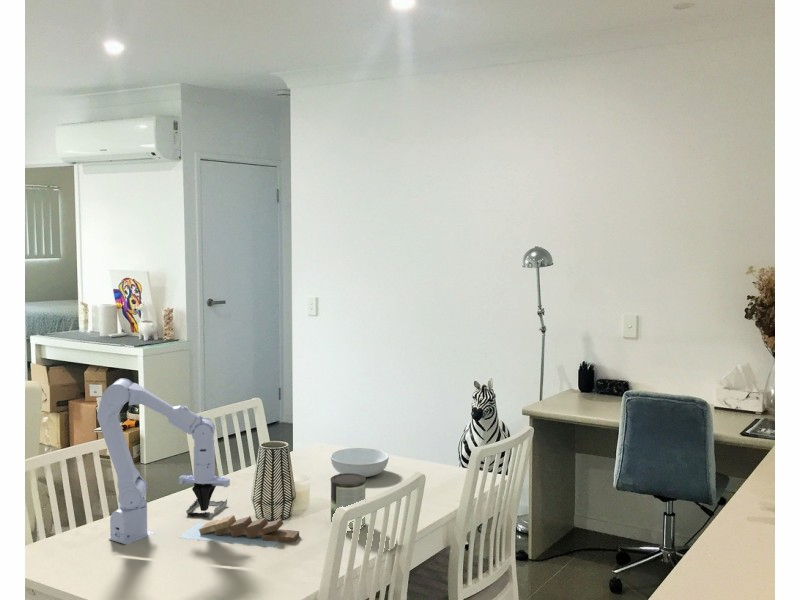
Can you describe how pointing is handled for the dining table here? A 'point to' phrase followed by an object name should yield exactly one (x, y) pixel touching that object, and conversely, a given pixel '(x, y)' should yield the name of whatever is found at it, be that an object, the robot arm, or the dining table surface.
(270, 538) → the domino
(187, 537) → the board
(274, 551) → the dining table surface
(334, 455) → the serving bowl
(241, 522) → the domino
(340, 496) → the coffee can
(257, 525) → the domino
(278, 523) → the domino
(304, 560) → the dining table surface
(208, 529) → the oak domino
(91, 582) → the dining table surface
